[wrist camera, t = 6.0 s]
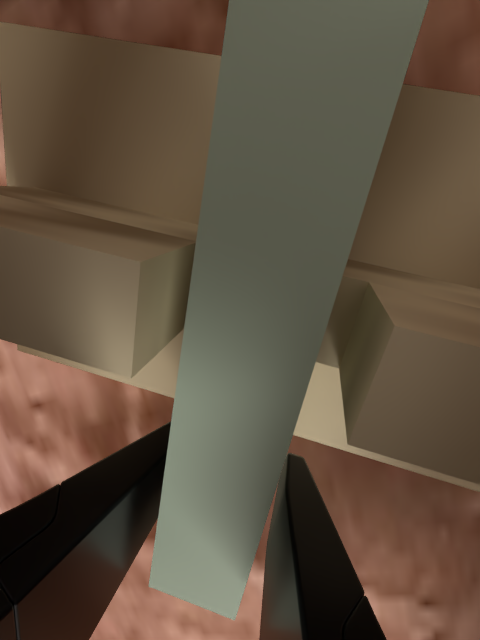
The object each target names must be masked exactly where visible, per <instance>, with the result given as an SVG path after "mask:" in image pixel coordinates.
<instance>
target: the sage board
mask: <svg viewBox="0 0 480 640" xmlns="http://www.w3.org/2000/svg"><path fill="white" fill-rule="evenodd" d="M428 2H429V0H229V5H228V13H227V20H226V27H225V34H224V42H223V49H222V56H221V64H220V71H219V78H218V85H217V93H216V100H215V107H214V114H213V122H212V129H211V136H210V144H209V151H208V158H207V165H206V173H205V180H204V187H203V195H202V202H201V209H200V216H199V224H198V231H197V238H196V245H195V253H194V260H193V267H192V275H191V282H190V289H189V296H188V304H187V311H186V318H185V325H184V333H183V340H182V347H181V355H180V362H179V369H178V376H177V384H176V391H175V398H174V406H173V413H172V420H171V427H170V435H169V442H168V449H167V456H166V464H165V471H164V478H163V486H162V493H161V500H160V507H159V515H158V522H157V529H156V537H155V544H154V551H153V558H152V566H151V573H150V580H149V587H151V588H154V589H157V590H159V591H162V592H164V593H167V594H169V595H172V596H174V597H177V598H179V599H182V600H184V601H187V602H189V603H192V604H195V605H197V606H200V607H202V608H205V609H207V610H210V611H212V612H215V613H217V614H220V615H222V616H225V617H227V618H230V619H232V620H235V618H236V615H237V612H238V609H239V605H240V602H241V599H242V596H243V593H244V589H245V586H246V583H247V580H248V577H249V573H250V570H251V567H252V564H253V561H254V557H255V554H256V551H257V548H258V545H259V541H260V538H261V535H262V532H263V529H264V525H265V522H266V519H267V516H268V513H269V509H270V506H271V503H272V500H273V497H274V494H275V490H276V487H277V484H278V481H279V478H280V474H281V471H282V468H283V465H284V462H285V458H286V455H287V452H288V449H289V446H290V442H291V439H292V436H293V433H294V430H295V426H296V423H297V420H298V417H299V414H300V410H301V407H302V404H303V401H304V398H305V394H306V391H307V388H308V385H309V382H310V379H311V375H312V372H313V369H314V366H315V363H316V359H317V356H318V353H319V350H320V347H321V343H322V340H323V337H324V334H325V331H326V327H327V324H328V321H329V318H330V315H331V311H332V308H333V305H334V302H335V299H336V295H337V292H338V289H339V286H340V283H341V279H342V276H343V273H344V270H345V267H346V264H347V260H348V257H349V254H350V251H351V248H352V244H353V241H354V238H355V235H356V232H357V228H358V225H359V222H360V219H361V216H362V212H363V209H364V206H365V203H366V200H367V196H368V193H369V190H370V187H371V184H372V180H373V177H374V174H375V171H376V168H377V164H378V161H379V158H380V155H381V152H382V148H383V145H384V142H385V139H386V136H387V133H388V129H389V126H390V123H391V120H392V117H393V113H394V110H395V107H396V104H397V101H398V97H399V94H400V91H401V88H402V85H403V81H404V78H405V75H406V72H407V69H408V65H409V62H410V59H411V56H412V53H413V49H414V46H415V43H416V40H417V37H418V33H419V30H420V27H421V24H422V21H423V18H424V14H425V11H426V8H427V5H428Z"/></svg>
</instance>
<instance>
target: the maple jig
mask: <svg viewBox="0 0 480 640" xmlns="http://www.w3.org/2000/svg"><path fill="white" fill-rule="evenodd" d="M220 64H221V56H219V55H213V54H206V53H200V52H193V51H187V50H180V49H174V48H167V47H161V46H155V45H148V44H142V43H135V42H129V41H122V40H116V39H109V38H103V37H96V36H90V35H83V34H77V33H71V32H64V31H58V30H51V29H45V28H38V27H32V26H25V25H19V24H12V23H6V22H0V87H1V102H2V118H3V133H4V148H5V164H6V179H7V186H0V339H2V340H5V341H9V342H12V343H15V344H17V347H18V350H19V351H22V352H25V353H28V354H32V355H35V356H38V357H41V358H45V359H48V360H51V361H54V362H58V363H61V364H64V365H68V366H71V367H74V368H77V369H81V370H84V371H87V372H90V373H94V374H97V375H100V376H103V377H107V378H110V379H113V380H116V381H120V382H123V383H126V384H129V385H133V386H136V387H139V388H142V389H146V390H149V391H152V392H155V393H159V394H162V395H165V396H169V397H172V398H175V391H176V384H177V376H178V369H179V362H180V355H181V347H182V340H183V333H184V325H185V318H186V311H187V304H188V296H189V289H190V282H191V275H192V267H193V260H194V253H195V245H196V238H197V231H198V224H199V216H200V209H201V202H202V195H203V187H204V180H205V173H206V165H207V158H208V151H209V144H210V136H211V129H212V122H213V114H214V107H215V100H216V93H217V85H218V78H219V71H220ZM293 435H296V436H299V437H302V438H305V439H309V440H312V441H315V442H318V443H322V444H325V445H328V446H331V447H335V448H338V449H341V450H344V451H348V452H351V453H354V454H358V455H361V456H364V457H367V458H371V459H374V460H377V461H380V462H384V463H387V464H390V465H393V466H397V467H400V468H403V469H406V470H410V471H413V472H416V473H419V474H423V475H426V476H429V477H432V478H436V479H439V480H442V481H445V482H449V483H452V484H455V485H459V486H462V487H465V488H468V489H472V490H475V491H478V492H480V96H478V95H471V94H465V93H458V92H452V91H445V90H439V89H432V88H426V87H419V86H413V85H406V84H403V85H402V88H401V91H400V94H399V97H398V101H397V104H396V107H395V110H394V113H393V117H392V120H391V123H390V126H389V129H388V133H387V136H386V139H385V142H384V145H383V148H382V152H381V155H380V158H379V161H378V164H377V168H376V171H375V174H374V177H373V180H372V184H371V187H370V190H369V193H368V196H367V200H366V203H365V206H364V209H363V212H362V216H361V219H360V222H359V225H358V228H357V232H356V235H355V238H354V241H353V244H352V248H351V251H350V254H349V257H348V260H347V264H346V267H345V270H344V273H343V276H342V279H341V283H340V286H339V289H338V292H337V295H336V299H335V302H334V305H333V308H332V311H331V315H330V318H329V321H328V324H327V327H326V331H325V334H324V337H323V340H322V343H321V347H320V350H319V353H318V356H317V359H316V363H315V366H314V369H313V372H312V375H311V379H310V382H309V385H308V388H307V391H306V394H305V398H304V401H303V404H302V407H301V410H300V414H299V417H298V420H297V423H296V426H295V430H294V433H293Z"/></svg>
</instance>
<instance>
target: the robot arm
mask: <svg viewBox="0 0 480 640" xmlns="http://www.w3.org/2000/svg"><path fill="white" fill-rule="evenodd" d="M170 427H171V422H169V423H167V424H165V425H163V426H162V427H160V428H158V429H156V430H154V431H153V432H151V433H149V434H147V435H146V436H144V437H142V438H140V439H138V440H137V441H135V442H133V443H131V444H129V445H128V446H126V447H124V448H122V449H120V450H119V451H117V452H115V453H113V454H111V455H110V456H108V457H106V458H104V459H102V460H101V461H99V462H97V463H95V464H94V465H92V466H90V467H88V468H86V469H85V470H83V471H81V472H79V473H77V474H76V475H74V476H72V477H70V478H68V479H67V480H65V481H63V482H62V483H61V486H60V485H59V484H58V485H56V486H54V487H52V488H50V489H48V490H47V491H45V492H43V493H41V494H39V495H37V496H36V497H34V498H32V499H30V500H28V501H26V502H24V503H22V504H20V505H19V506H17V507H15V508H13V509H11V510H8V511H6V512H4V513H2V514H0V640H89V639H90V637H91V635H92V633H93V632H94V630H95V628H96V626H97V625H98V623H99V621H100V619H101V617H102V616H103V614H104V612H105V610H106V609H107V607H108V605H109V603H110V602H111V600H112V598H113V596H114V594H115V593H116V591H117V589H118V587H119V586H120V584H121V582H122V580H123V579H124V577H125V575H126V573H127V571H128V570H129V568H130V566H131V564H132V563H133V561H134V559H135V557H136V555H137V554H138V552H139V550H140V548H141V547H142V545H143V543H144V541H145V540H146V538H147V536H148V534H149V532H150V531H151V529H152V527H153V525H154V524H155V522H156V520H157V518H158V515H159V507H160V500H161V493H162V486H163V478H164V471H165V464H166V456H167V449H168V442H169V435H170ZM259 640H387V639H386V637H385V635H384V633H383V631H382V629H381V627H380V625H379V623H378V621H377V618H376V616H375V614H374V612H373V610H372V607H371V605H370V603H369V601H368V598H367V597H366V596H364V590H363V588H362V585H361V583H360V581H359V579H358V577H357V574H356V572H355V570H354V568H353V565H352V563H351V561H350V559H349V557H348V554H347V552H346V550H345V548H344V546H343V543H342V541H341V539H340V537H339V534H338V532H337V530H336V528H335V526H334V523H333V521H332V519H331V517H330V514H329V512H328V510H327V508H326V506H325V503H324V501H323V499H322V497H321V495H320V492H319V490H318V488H317V486H316V483H315V481H314V479H313V477H312V475H311V472H310V470H309V468H308V466H307V463H306V461H305V459H304V458H303V457H301V456H298V455H295V454H292V453H288V454H287V456H286V459H285V463H284V466H283V469H282V472H281V475H280V479H279V483H278V488H277V493H276V498H275V503H274V509H273V514H272V519H271V524H270V530H269V535H268V541H267V549H266V559H265V572H264V585H263V599H262V612H261V625H260V638H259Z"/></svg>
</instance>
